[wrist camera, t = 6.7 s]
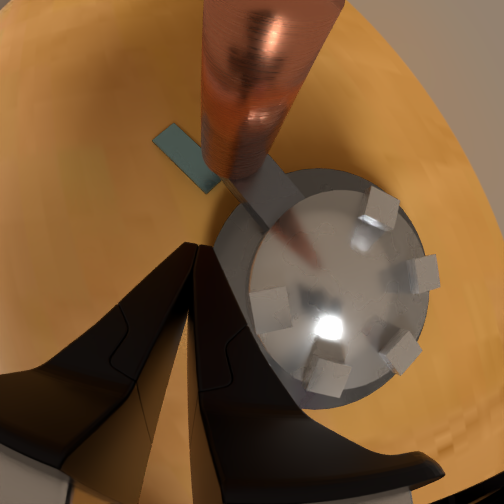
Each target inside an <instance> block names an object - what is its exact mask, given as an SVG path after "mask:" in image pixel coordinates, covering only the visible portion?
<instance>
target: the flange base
mask: <svg viewBox="0 0 504 504" xmlns="http://www.w3.org/2000/svg"><path fill="white" fill-rule="evenodd" d="M152 141H153V143H155V144H156V145H157V146H158V147H159V148H160V149H161V150H162V151H163V152H164V153H165V154H166V155H167V156H168V157H169V158H170V159H171V160H172V161H173V162H174V163H175V164H176V165H177V166H178V167H179V168H180V169H181V170H182V171H183V172H184V173H185V174H186V175H187V176H188V177H189V178H190V179H191V180H192V181H193V182H194V183H195V184H196V185H197V186H198V187H199V188H200V189H201V190H202V191H203V192H204V193H205V194H207V193H208V192H209V191H211V190H212V189H213V188H214V187H215V186H216V185H217V184H218V183H219V182H220V181H221V179H220V178H219V177H218V175H217V174H215V173H214V172H212V171H211V170H210V169H209V168H208V167H207V165H206V164H205V162H204V160H203V158H202V151H201V148H200V147H199V146H198V145H197V144H196V143H195V142H194V141H193V140H192V139H191V138H190V137H189V136H188V135H186V134H185V133H184V132H183V131H182V130H181V129H180V128H179V127H178V126H177V125H176V124H175V123H173V124H172V125H170V126H169V127H168V128H167V129H165V130H164V131H163V132H162V133H161V134H159V135H158V136H157V137H156V138H155V139H153V140H152ZM286 175H287V176H288V178H289V179H290V180H291V181H292V182H293V184H294V185H295V186H296V187H297V188H298V189H299V191H300V192H301V193H302V194H303V196H304V197H305V198H308V197H310V196H313V195H316V194H319V193H322V192H327V191H333V190H349V191H357V192H361V193H364V190H365V189H367V188H369V187H370V186H373V187H375V188H377V189H379V190H381V191H383V190H382V189H380V188H379V187H377V186H376V185H374V184H373V183H371V182H369V181H367V180H365V179H363V178H361V177H359V176H356V175H354V174H351V173H348V172H344V171H339V170H334V169H320V168H315V169H304V170H299V171H295V172H290V173H287V174H286ZM383 192H384V191H383ZM385 193H386V192H385ZM398 213H399V214H400V215H401V216H402V217H403V219H404V220H405V221H406V222H407V223H408V225H409V226H410V227H411V229H412V230H413V232H414V234H415V235H416V237H417V239H418V241H419V243H420V245H421V248H422V250H423V253H424V249H423V246H422V243H421V241H420V238H419V236H418V233H417V231H416V230H415V228H414V226H413V224H412V222H411V221H410V219H409V218H408V216H407V215H406V213H405V212H404V211H403V209H402V208H401V207H400V206H399V208H398ZM264 233H265V232H264V231H263V229H262V228H261V227H260V226H259V225H258V223H257V222H256V221H255V220H254V219H253V217H252V216H251V215H250V214H249V213H248V211H247V210H246V209H245V208H244V207H243V205H242V204H241V203H240V204H239V205H238V206H237V207H236V208H235V210H234V211H233V212H232V214H231V215H230V216H229V218H228V219H227V220H226V222H225V224H224V225H223V227H222V229H221V231H220V233H219V235H218V237H217V239H216V242H215V244H214V247H213V249H214V251H215V253H216V255H217V258H218V260H219V262H220V264H221V267H222V269H223V271H224V273H225V276H226V278H227V280H228V282H229V284H230V287H231V289H232V291H233V293H234V295H235V297H236V300H237V302H238V304H239V306H240V308H241V310H242V313H243V315H244V317H245V319H246V321H247V323H248V326H249V327H250V329H251V332H252V334H253V336H254V338H255V340H256V342H257V344H258V345H259V347H260V349H261V351H262V353H263V354H264V356H265V358H266V359H267V361H268V362H269V364H270V366H271V367H272V369H273V370H274V372H275V373H276V375H277V376H278V377H279V379H280V380H281V382H282V383H283V385H284V386H285V388H286V389H287V391H288V392H289V394H290V395H291V396H292V398H293V399H294V401H295V402H296V403H297V405H298V406H299V407H300V408H301V409H313V410H316V409H330V408H335V407H339V406H344V405H347V404H350V403H352V402H355V401H358V400H360V399H362V398H364V397H366V396H368V395H370V394H371V393H373V392H374V391H376V390H377V389H379V388H380V387H381V386H383V385H384V384H385V383H386V382H387V381H388V380H390V379H391V378H392V377H393V376H394V375H395V373H393V372H392V371H391V370H390V371H389V372H388V373H387V374H385V375H384V376H382V377H380V378H379V379H377V380H375V381H373V382H371V383H368V384H366V385H363V386H360V387H356V388H351V389H343V391H342V394H341V396H340V398H337V397H332V396H328V395H324V394H319V393H315V392H311V391H307V390H305V389H304V388H303V387H302V386H301V384H302V381H300V380H298V379H296V378H295V377H293V376H292V375H290V374H289V373H288V372H286V371H285V370H284V369H283V368H282V367H281V366H280V365H279V364H278V363H277V362H276V361H275V360H274V359H273V358H272V357H271V356H270V355H269V354H268V353H267V351H266V350H265V349H264V348H263V346H262V345H261V344H260V342H259V340H258V338H257V337H256V335H255V333H254V331H253V328H252V326H251V323H250V320H249V316H248V312H247V308H246V299H245V283H246V276H247V270H248V267H249V263H250V260H251V257H252V255H253V252H254V250H255V248H256V246H257V244H258V242H259V241H260V239H261V238H262V236H263V235H264ZM424 256H425V253H424ZM428 302H429V300H428ZM427 308H428V307H427ZM426 314H427V312H426ZM425 318H426V316H425ZM424 322H425V320H424ZM423 325H424V323H423ZM422 329H423V326H422V328H421V331H422ZM421 331H420V333H419V335H418V337H417V339H416V341H418V339H419V336H420V334H421Z"/></svg>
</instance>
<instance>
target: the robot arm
mask: <svg viewBox="0 0 504 504" xmlns="http://www.w3.org/2000/svg"><path fill="white" fill-rule="evenodd" d="M188 309H189V310H188ZM187 315H188V330H187V384H188V425H189V448H190V467H191V482H192V495H193V504H413V501H412V495H411V491H413V490H415V489H418V488H420V487H423V486H425V485H427V484H430V483H432V482H434V481H437V480H439V479H441V478H442V477H444V476H445V472H444V471H443V469H442V467H441V466H440V465H439V464H438V463H437V462H436V461H435V460H433V459H432V458H431V457H429V456H427V455H426V454H424V453H423V452H419V451H415V452H409V453H404V454H399V455H385V454H380V453H376V452H373V451H370V450H368V449H366V448H364V447H362V446H360V445H358V444H356V443H354V442H352V441H350V440H348V439H347V438H345V437H343V436H341V435H339V434H337V433H335V432H334V431H332V430H330V429H328V428H327V427H325V426H323V425H321V424H319V423H318V422H316V421H314V420H313V419H311V418H310V417H309V416H308V415H307V414H305V413H304V412H303V411H302V410H301V408H300V407H299V406H298V405H297V403H296V402H295V401H294V399H293V398H292V396H291V395H290V394H289V392H288V391H287V389H286V388H285V386H284V385H283V383H282V382H281V380H280V379H279V377H278V376H277V375H276V373H275V372H274V370H273V369H272V367H271V366H270V364H269V362H268V361H267V359H266V358H265V356H264V354H263V353H262V351H261V349H260V347H259V345H258V344H257V342H256V340H255V338H254V336H253V334H252V332H251V329H250V327H249V326H248V323H247V321H246V319H245V317H244V315H243V313H242V310H241V308H240V306H239V304H238V302H237V300H236V297H235V295H234V293H233V291H232V289H231V287H230V284H229V282H228V280H227V278H226V276H225V273H224V271H223V269H222V267H221V264H220V262H219V260H218V258H217V255H216V253H215V251H214V249H213V247H212V246H207V245H199V246H198V245H197V244H195V243H189V242H184V243H183V244H182V245H180V246H179V247H178V248H177V249H176V250H175V251H174V252H173V253H172V254H170V255H169V256H168V257H167V258H166V259H165V260H164V261H163V262H162V263H160V264H159V265H158V266H157V267H156V268H155V269H154V270H153V271H152V272H151V273H150V274H148V275H147V276H146V277H145V278H144V279H143V280H142V281H141V282H140V283H139V284H138V285H137V286H136V287H134V288H133V289H132V290H131V291H130V292H129V293H128V294H127V295H126V296H125V297H124V298H123V299H122V300H121V301H120V302H119V303H118V304H117V305H115V306H114V307H113V308H112V309H111V310H110V311H109V312H108V313H107V314H106V315H105V316H104V317H103V318H101V319H100V320H99V321H98V322H97V323H96V324H95V325H93V326H92V327H91V328H90V329H88V330H87V331H86V332H85V333H84V334H82V335H81V336H80V337H78V338H77V339H76V340H75V341H73V342H72V343H71V344H69V345H68V346H67V347H65V348H64V349H63V350H62V351H60V352H59V353H58V354H57V355H55V356H54V357H53V358H51V359H50V360H49V361H47V362H46V363H44V364H42V365H41V366H39V367H36V368H34V369H31V370H27V371H21V372H14V373H8V374H1V375H0V504H138V501H139V497H140V492H141V488H142V484H143V479H144V475H145V471H146V467H147V462H148V458H149V454H150V450H151V446H152V445H151V444H152V442H153V438H154V434H155V430H156V426H157V422H158V418H159V415H160V411H161V407H162V403H163V400H164V396H165V392H166V388H167V385H168V381H169V378H170V374H171V370H172V367H173V363H174V360H175V356H176V353H177V349H178V346H179V343H180V339H181V336H182V332H183V329H184V326H185V322H186V319H187ZM429 504H504V471H502V472H500V473H498V474H496V475H495V476H493V477H491V478H489V479H486V480H484V481H482V482H480V483H478V484H476V485H474V486H471V487H469V488H467V489H465V490H462V491H460V492H458V493H455V494H453V495H450V496H448V497H445V498H443V499H440V500H437V501H435V502H432V503H429Z"/></svg>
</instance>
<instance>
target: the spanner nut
mask: <svg viewBox="0 0 504 504" xmlns="http://www.w3.org/2000/svg"><path fill="white" fill-rule="evenodd" d="M344 4H345V0H204V10H203V35H202V74H201V151H202V158H203V160H204V162H205V164H206V165H207V167H208V168H209V169H210V170H211V171H212V172H214V173H215V174H217V175H218V177H219V178H220V179H221V180H222V181H223V183H224V184H225V185H226V186H227V187H228V189H229V190H230V191H231V192H232V193H233V195H234V196H235V197H236V198H237V199H238V201H239V202H240V203H241V204H242V205H243V207H244V208H245V209H246V210H247V211H248V213H249V214H250V215H251V216H252V217H253V219H254V220H255V221H256V222H257V223H258V225H259V226H260V227H261V228H262V229H263V231H264V232H265V233H264V235H263V236H262V238H261V239H260V241H259V242H258V244H257V246H256V248H255V250H254V252H253V255H252V257H251V260H250V263H249V267H248V270H247V276H246V283H245V299H246V308H247V312H248V316H249V320H250V323H251V326H252V328H253V331H254V333H255V335H256V337H257V338H258V340H259V342H260V344H261V345H262V346H263V348H264V349H265V350H266V351H267V353H268V354H269V355H270V356H271V357H272V358H273V359H274V360H275V361H276V362H277V363H278V364H279V365H280V366H281V367H282V368H283V369H284V370H285V371H286V372H288V373H289V374H290V375H292V376H293V377H295V378H296V379H298V380H300V381H302V384H301V386H302V387H303V388H304V389H305V390H307V391H311V392H315V393H319V394H324V395H328V396H332V397H337V398H340V396H341V394H342V391H343V389H351V388H356V387H360V386H363V385H366V384H368V383H371V382H373V381H375V380H377V379H379V378H380V377H382V376H384V375H385V374H387V373H388V372H389V371H390V370H391V371H392V372H393V373H395V374H398V375H400V376H401V375H402V374H403V373H404V372H405V370H406V369H407V368H408V367H409V366H410V365H411V364H412V362H413V361H414V360H415V359H416V358H417V357H418V355H419V354H420V353H421V352H422V349H421V348H420V346H419V344H418V343H417V341H416V339H417V337H418V335H419V333H420V331H421V328H422V326H423V323H424V320H425V316H426V312H427V307H428V300H429V291H430V290H433V289H436V288H439V287H440V280H439V272H438V266H437V259H436V254H433V255H426V256H424V253H423V250H422V248H421V245H420V243H419V241H418V239H417V237H416V235H415V234H414V232H413V230H412V229H411V227H410V226H409V225H408V223H407V222H406V221H405V220H404V219H403V217H402V216H401V215H400V214H399V213H398V208H399V203H400V200H398V199H396V198H394V197H392V196H391V195H389V194H387V193H385V192H383V191H381V190H379V189H377V188H375V187H373V186H370V187H369V188H367V189H365V190H364V193H361V192H357V191H349V190H333V191H327V192H322V193H319V194H316V195H313V196H310V197H308V198H305V197H304V196H303V194H302V193H301V192H300V191H299V189H298V188H297V187H296V186H295V185H294V184H293V182H292V181H291V180H290V179H289V178H288V176H287V175H286V174H285V173H284V172H283V171H282V169H281V168H280V167H279V166H278V165H277V164H276V162H275V161H274V160H273V159H272V158H271V157H270V156H269V154H268V152H269V150H270V148H271V146H272V144H273V142H274V140H275V138H276V136H277V134H278V132H279V130H280V128H281V126H282V124H283V122H284V120H285V118H286V116H287V114H288V112H289V110H290V108H291V106H292V104H293V102H294V100H295V98H296V96H297V94H298V92H299V90H300V88H301V86H302V84H303V82H304V80H305V79H306V77H307V75H308V73H309V71H310V69H311V67H312V65H313V63H314V61H315V59H316V57H317V55H318V53H319V52H320V50H321V48H322V46H323V44H324V42H325V40H326V38H327V36H328V34H329V33H330V31H331V29H332V27H333V25H334V23H335V21H336V20H337V18H338V16H339V14H340V12H341V10H342V8H343V7H344Z"/></svg>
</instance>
